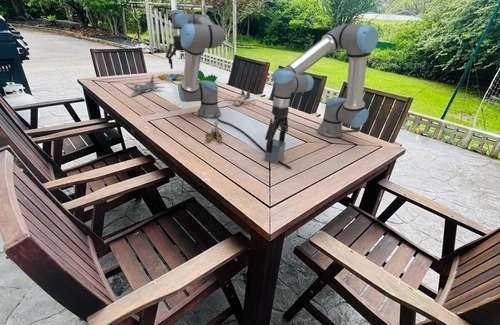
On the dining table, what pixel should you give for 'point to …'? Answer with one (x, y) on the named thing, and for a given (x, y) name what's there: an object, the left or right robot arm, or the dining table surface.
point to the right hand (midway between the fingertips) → (275, 147)
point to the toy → (241, 99)
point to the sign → (172, 77)
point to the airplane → (145, 87)
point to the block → (276, 152)
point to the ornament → (209, 78)
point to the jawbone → (214, 134)
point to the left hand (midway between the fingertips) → (181, 68)
